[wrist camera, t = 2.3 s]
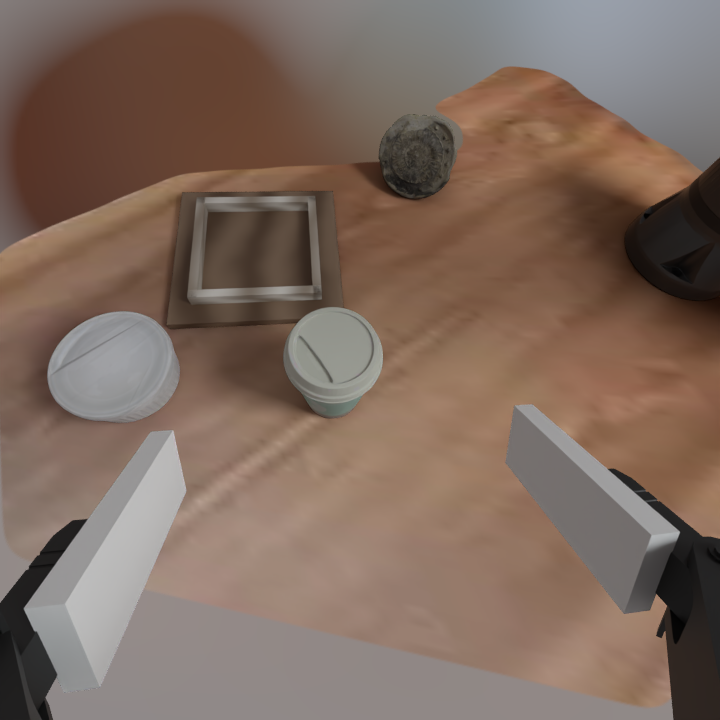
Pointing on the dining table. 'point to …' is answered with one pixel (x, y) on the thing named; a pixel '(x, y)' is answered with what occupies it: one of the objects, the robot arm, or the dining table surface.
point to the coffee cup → (333, 359)
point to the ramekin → (114, 368)
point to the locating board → (254, 258)
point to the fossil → (417, 155)
